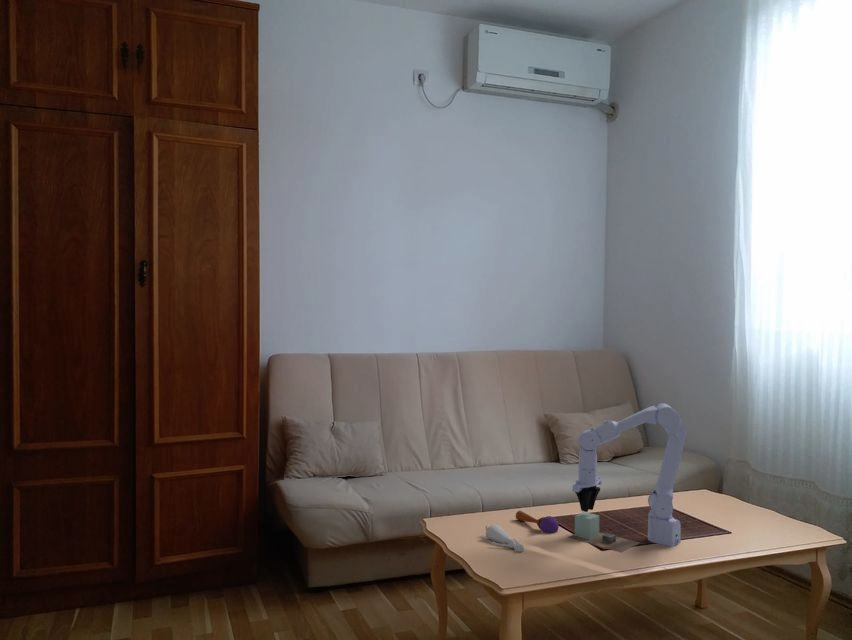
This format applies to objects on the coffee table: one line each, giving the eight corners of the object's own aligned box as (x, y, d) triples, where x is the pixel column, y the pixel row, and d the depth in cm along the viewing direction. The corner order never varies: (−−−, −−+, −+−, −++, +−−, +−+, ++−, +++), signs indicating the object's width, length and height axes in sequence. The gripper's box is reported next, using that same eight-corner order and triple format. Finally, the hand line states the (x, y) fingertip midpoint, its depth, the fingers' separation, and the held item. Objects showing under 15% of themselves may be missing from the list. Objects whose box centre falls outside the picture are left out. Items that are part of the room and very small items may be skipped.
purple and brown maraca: (527, 507, 248) (563, 518, 230) (525, 524, 247) (561, 537, 229) (513, 506, 245) (548, 517, 227) (511, 523, 244) (546, 536, 227)
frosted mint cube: (599, 535, 226) (599, 515, 226) (589, 539, 222) (590, 519, 222) (583, 531, 230) (584, 511, 230) (574, 535, 226) (574, 515, 226)
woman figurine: (503, 519, 232) (538, 539, 216) (503, 532, 232) (537, 553, 217) (474, 524, 226) (507, 545, 211) (473, 538, 227) (506, 559, 211)
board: (640, 546, 220) (640, 527, 219) (621, 556, 211) (621, 535, 211) (587, 532, 233) (587, 513, 233) (567, 540, 224) (567, 521, 224)
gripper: (588, 462, 234) (588, 503, 234) (564, 469, 223) (563, 512, 223) (607, 466, 229) (607, 507, 229) (583, 473, 218) (583, 517, 219)
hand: (587, 510), depth 226 cm, fingers closed
